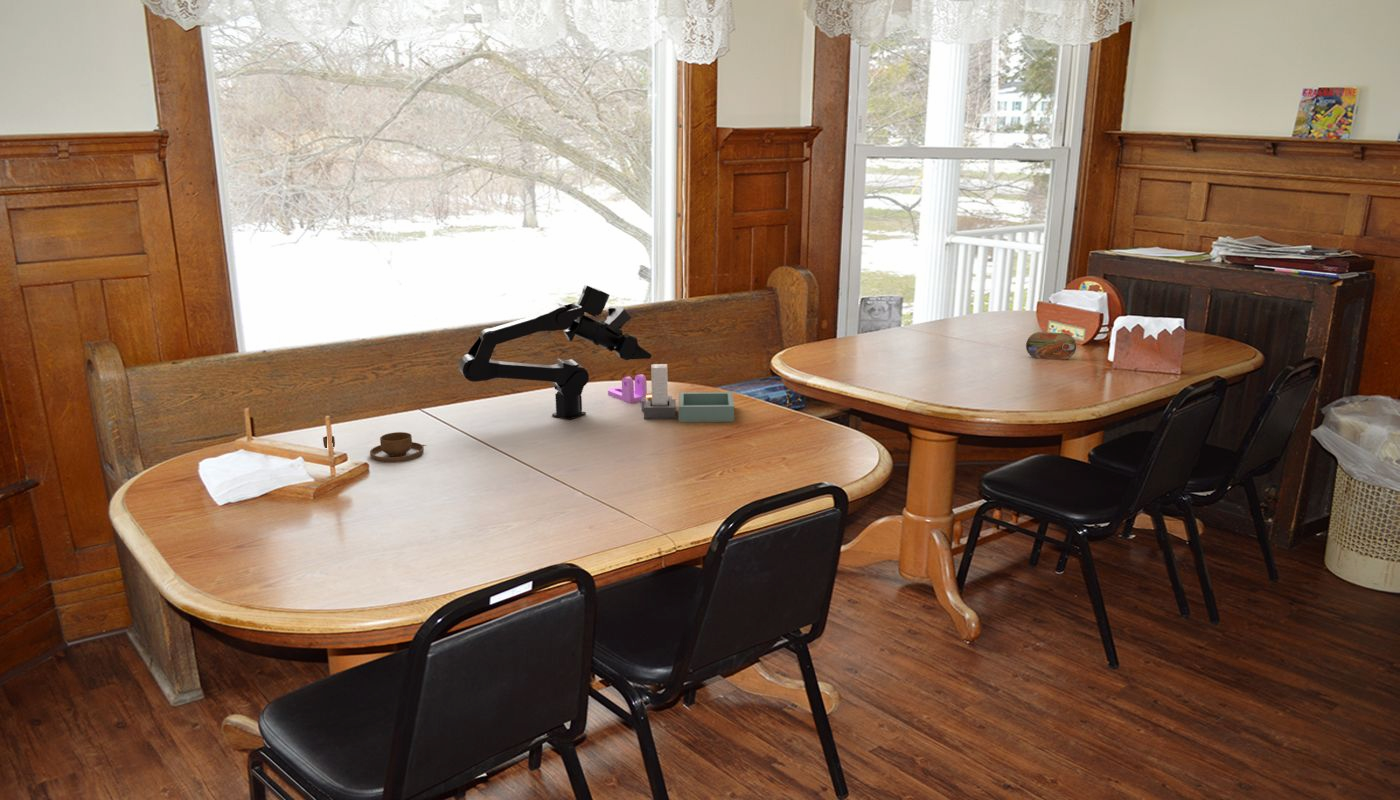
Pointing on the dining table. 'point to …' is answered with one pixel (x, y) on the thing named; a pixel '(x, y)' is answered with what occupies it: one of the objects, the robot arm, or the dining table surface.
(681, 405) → the tray
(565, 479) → the dining table surface
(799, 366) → the dining table surface
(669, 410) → the tensioner bracket
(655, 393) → the pin
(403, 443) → the place setting
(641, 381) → the bracket
